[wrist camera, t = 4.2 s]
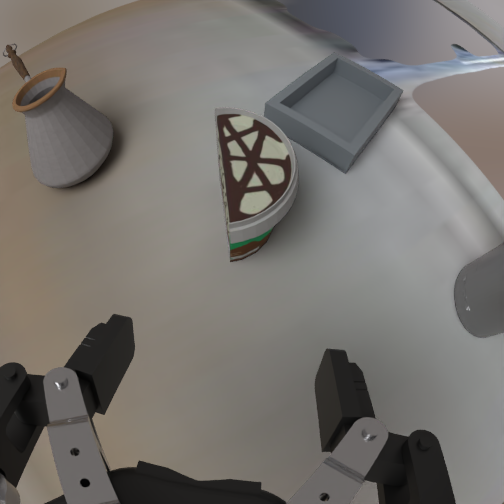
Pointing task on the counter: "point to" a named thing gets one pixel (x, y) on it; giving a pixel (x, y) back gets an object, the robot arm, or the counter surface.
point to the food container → (253, 177)
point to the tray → (334, 109)
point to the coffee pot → (60, 128)
